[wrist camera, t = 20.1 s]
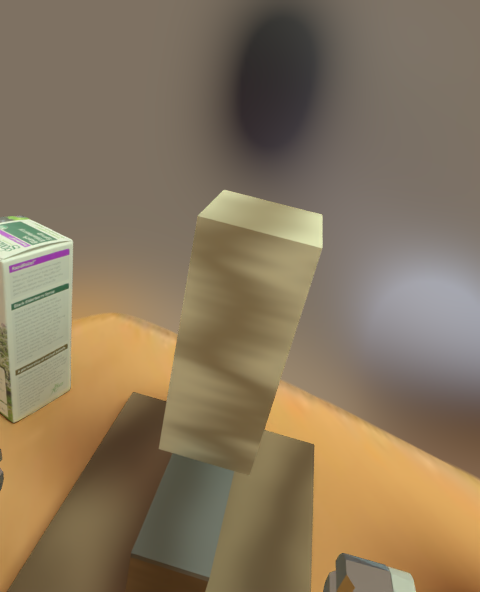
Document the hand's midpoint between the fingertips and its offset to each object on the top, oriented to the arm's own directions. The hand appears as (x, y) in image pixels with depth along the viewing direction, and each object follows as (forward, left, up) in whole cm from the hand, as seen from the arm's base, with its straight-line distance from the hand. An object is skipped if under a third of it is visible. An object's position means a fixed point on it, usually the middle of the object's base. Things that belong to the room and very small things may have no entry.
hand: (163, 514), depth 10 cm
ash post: (0, -12, -9) cm, 15 cm away
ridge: (0, -12, -18) cm, 22 cm away
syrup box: (+17, -19, -18) cm, 31 cm away
